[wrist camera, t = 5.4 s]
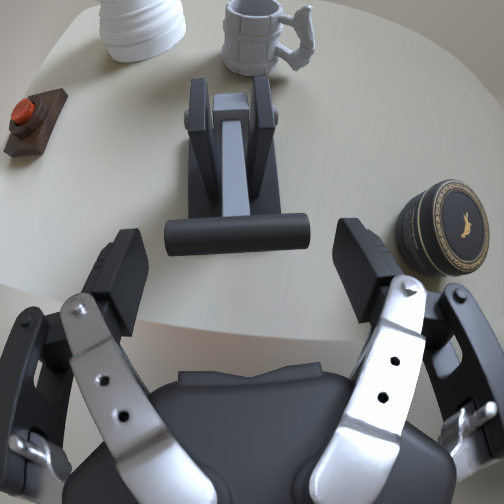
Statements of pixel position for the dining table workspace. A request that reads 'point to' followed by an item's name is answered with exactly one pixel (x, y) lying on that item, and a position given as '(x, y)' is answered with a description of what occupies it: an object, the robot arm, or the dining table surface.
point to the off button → (22, 111)
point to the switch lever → (235, 200)
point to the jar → (444, 231)
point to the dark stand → (210, 153)
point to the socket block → (36, 124)
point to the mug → (264, 36)
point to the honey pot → (140, 27)
